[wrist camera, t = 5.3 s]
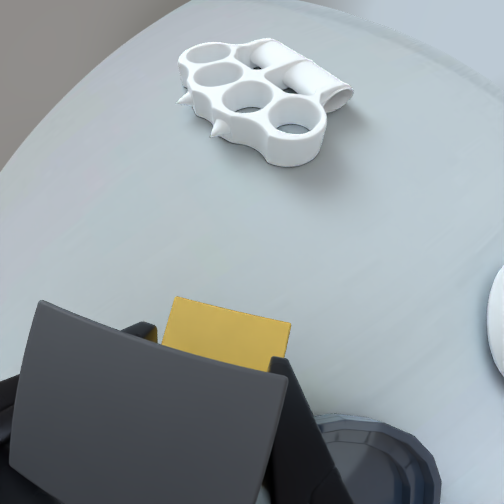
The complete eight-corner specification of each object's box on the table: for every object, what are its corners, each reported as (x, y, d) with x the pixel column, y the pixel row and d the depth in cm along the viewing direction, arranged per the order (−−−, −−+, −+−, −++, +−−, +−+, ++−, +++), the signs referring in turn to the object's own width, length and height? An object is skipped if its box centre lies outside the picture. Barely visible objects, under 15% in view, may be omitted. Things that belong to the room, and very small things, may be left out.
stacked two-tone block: (252, 450, 13) (247, 641, 1) (174, 430, 14) (-13, 527, 2) (278, 341, 15) (366, 222, 3) (201, 323, 16) (64, 168, 4)
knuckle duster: (373, 124, 27) (255, 197, 23) (258, 45, 32) (152, 90, 29) (382, 99, 24) (255, 170, 20) (258, 23, 29) (145, 67, 26)
